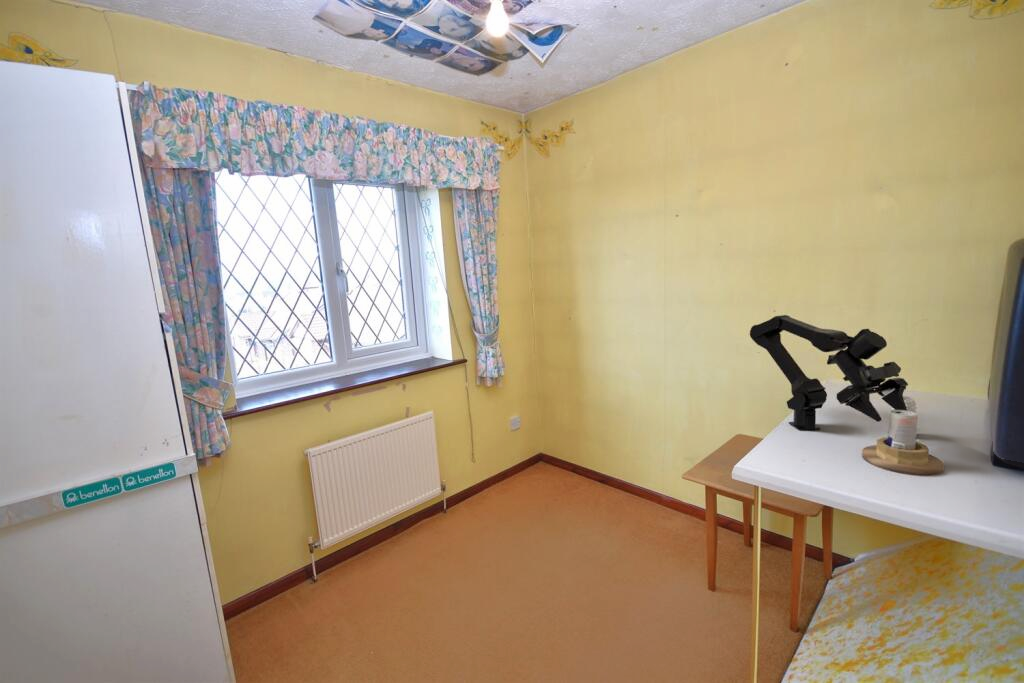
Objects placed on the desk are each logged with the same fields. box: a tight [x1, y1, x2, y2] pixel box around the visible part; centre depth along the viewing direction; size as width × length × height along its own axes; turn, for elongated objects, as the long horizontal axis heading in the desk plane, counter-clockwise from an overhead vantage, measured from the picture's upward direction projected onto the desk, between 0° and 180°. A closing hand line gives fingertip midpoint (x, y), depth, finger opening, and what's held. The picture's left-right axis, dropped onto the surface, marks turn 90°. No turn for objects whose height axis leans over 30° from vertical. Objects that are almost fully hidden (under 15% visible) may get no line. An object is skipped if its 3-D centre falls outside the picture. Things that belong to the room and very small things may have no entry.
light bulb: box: [890, 395, 917, 413], centre depth 130 cm, size 6×6×12 cm
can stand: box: [861, 436, 945, 477], centre depth 115 cm, size 16×16×5 cm
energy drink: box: [887, 410, 918, 450], centre depth 114 cm, size 5×5×12 cm
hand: (893, 418), depth 116 cm, fingers open, 9 cm apart
